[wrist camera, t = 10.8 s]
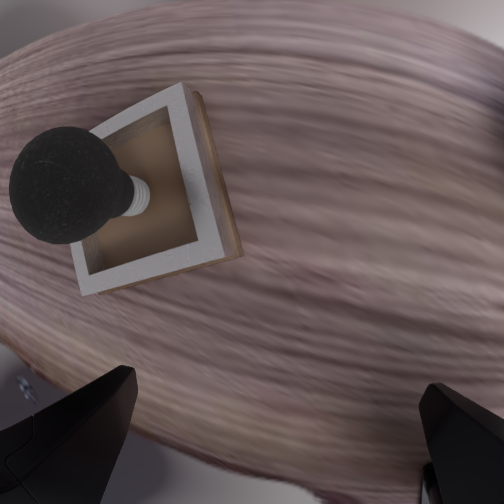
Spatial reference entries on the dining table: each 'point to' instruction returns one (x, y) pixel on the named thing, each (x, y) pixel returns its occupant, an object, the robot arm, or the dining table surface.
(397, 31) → the dining table surface
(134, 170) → the socket board
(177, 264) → the socket collar
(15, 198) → the light bulb
